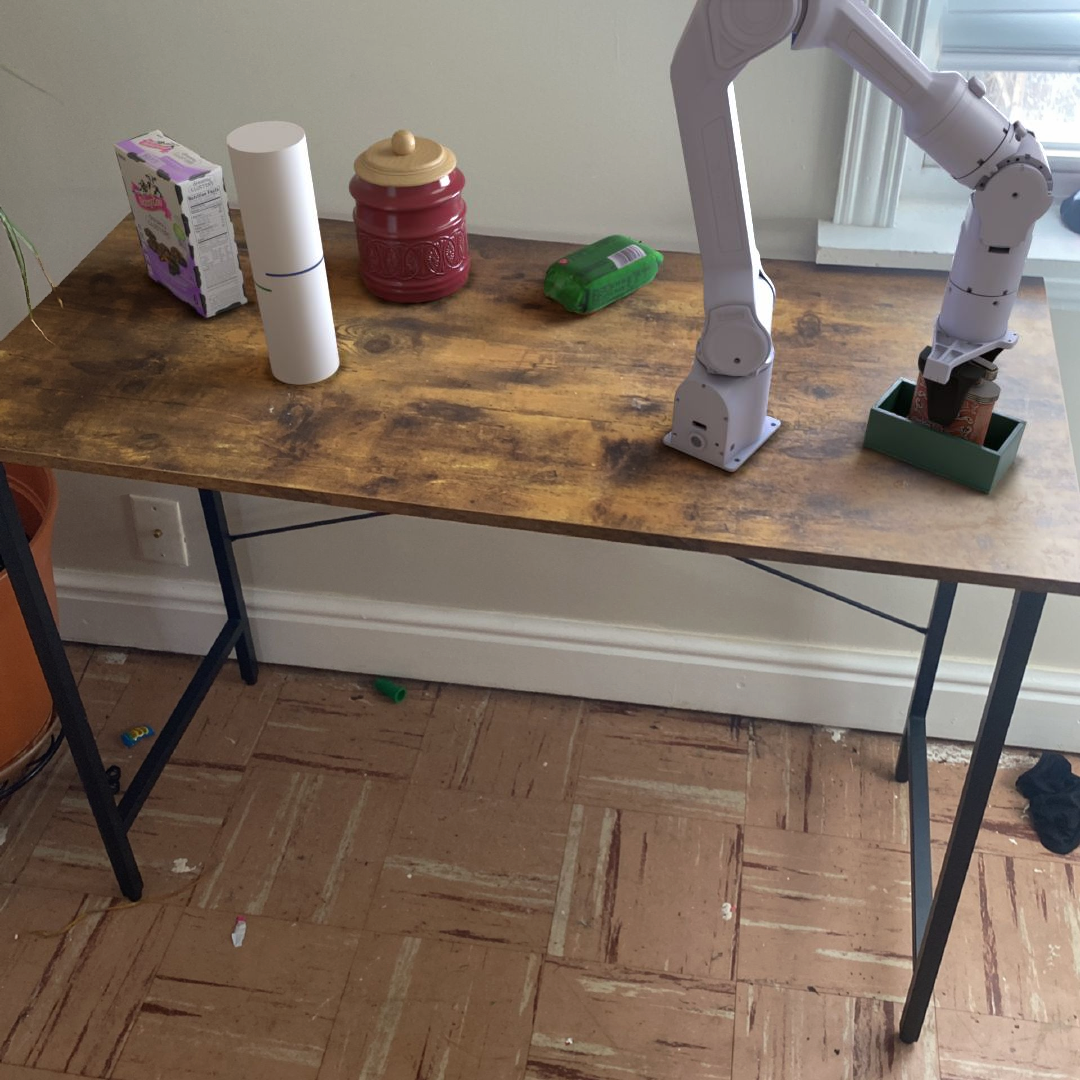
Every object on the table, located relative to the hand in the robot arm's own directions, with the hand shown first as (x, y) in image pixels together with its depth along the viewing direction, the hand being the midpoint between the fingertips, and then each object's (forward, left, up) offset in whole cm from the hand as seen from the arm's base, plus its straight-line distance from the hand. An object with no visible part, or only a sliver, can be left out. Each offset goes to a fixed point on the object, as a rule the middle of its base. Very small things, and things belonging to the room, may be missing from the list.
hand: (949, 411), depth 109 cm
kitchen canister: (-4, +63, -5) cm, 63 cm away
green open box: (0, 0, -5) cm, 5 cm away
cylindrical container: (-25, +60, -5) cm, 65 cm away
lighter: (0, 0, -4) cm, 4 cm away
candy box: (-21, +82, -5) cm, 85 cm away
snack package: (+6, +43, -5) cm, 44 cm away
